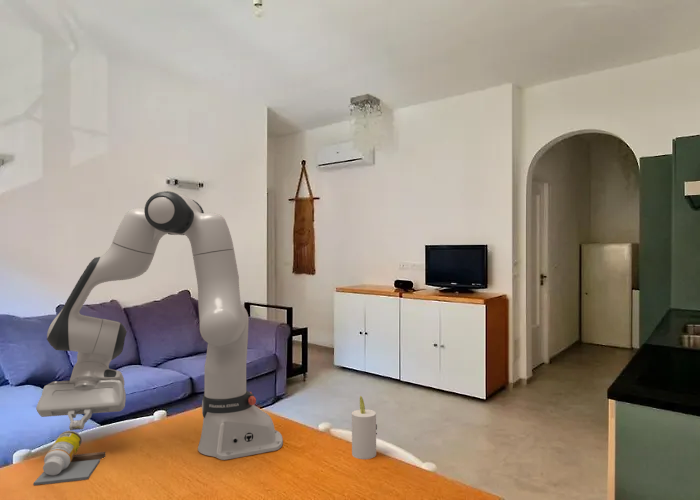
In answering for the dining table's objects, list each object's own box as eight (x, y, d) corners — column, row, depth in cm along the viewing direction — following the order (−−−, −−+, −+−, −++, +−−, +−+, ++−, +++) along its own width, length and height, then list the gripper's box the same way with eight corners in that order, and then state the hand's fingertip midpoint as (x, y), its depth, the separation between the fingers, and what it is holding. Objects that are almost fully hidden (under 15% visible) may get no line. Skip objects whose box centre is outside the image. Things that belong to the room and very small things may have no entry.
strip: (105, 456, 118) (105, 451, 118) (103, 458, 117) (103, 454, 117) (53, 461, 115) (53, 456, 115) (50, 464, 114) (50, 459, 114)
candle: (380, 457, 116) (380, 397, 117) (356, 460, 114) (355, 400, 115) (372, 447, 122) (371, 391, 123) (349, 450, 120) (348, 393, 121)
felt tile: (99, 461, 115) (100, 459, 115) (87, 479, 105) (87, 476, 105) (50, 466, 112) (50, 464, 112) (33, 485, 103) (33, 482, 103)
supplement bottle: (73, 451, 116) (54, 482, 107) (54, 439, 115) (33, 469, 105) (87, 437, 116) (70, 467, 106) (69, 425, 114) (49, 454, 104)
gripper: (42, 375, 120) (25, 426, 110) (127, 371, 125) (117, 419, 115) (48, 388, 124) (32, 438, 114) (130, 383, 129) (121, 430, 119)
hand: (76, 428), depth 115 cm, fingers closed
